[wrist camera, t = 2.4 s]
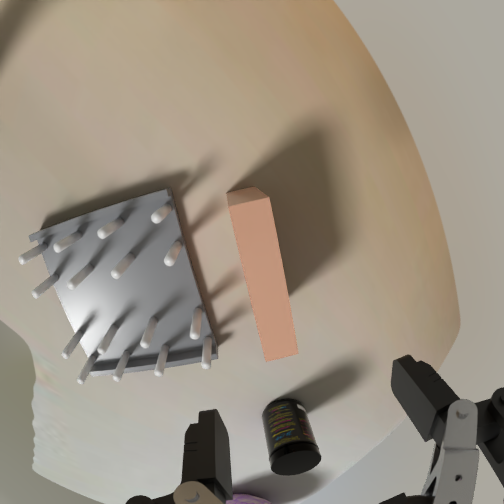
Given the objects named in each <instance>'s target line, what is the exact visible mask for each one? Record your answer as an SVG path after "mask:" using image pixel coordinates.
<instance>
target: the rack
mask: <svg viewBox="0 0 504 504" xmlns="http://www.w3.org/2000/svg"><path fill="white" fill-rule="evenodd" d="M29 239H30V242H33V241H35V240H38V243H39V245H38V246H36V247H35V248H33V249H31V250H29V251H28V252H26V253H24V254H22V255H21V256H19V262H20V263H21V264H25V263H27V262H28V261H30V260H31V259H33V258H35V257H36V256H38V255H39V254H41V253H42V255H43V258H44V261H45V264H46V266H47V269H48V272H49V275H50V277H49V278H48V279H46V280H45V281H44V282H43V283H41V284H40V285H39V286H38V287H36V288H35V289H34V290H33V291H32V295H33V297H34V298H38V297H39V296H41V295H42V294H43V293H44V292H45V291H46V290H47V289H49V288H50V287H51V286H52V285H54V287H55V290H56V292H57V294H58V297H59V299H60V301H61V304H62V306H63V308H64V310H65V313H66V315H67V317H68V319H69V321H70V323H71V325H72V328H73V330H74V332H75V335H74V336H73V338H72V339H71V340H70V342H69V343H68V345H67V346H66V347H65V349H64V350H63V352H62V356H63V357H64V358H66V359H68V358H69V356H70V355H71V353H72V352H73V350H74V349H75V347H76V346H77V344H78V343H79V341H80V343H81V345H82V347H83V349H84V351H85V353H86V355H87V356H88V360H87V362H86V364H85V366H84V367H83V369H82V371H81V373H80V375H79V376H78V378H77V381H78V382H79V383H80V384H84V382H85V380H86V378H87V376H88V374H89V373H90V374H91V376H103V375H113V379H114V380H115V381H120V380H121V377H122V375H123V373H131V372H139V371H147V370H154V369H155V371H154V374H155V375H156V376H159V377H161V376H162V375H163V372H164V368H168V367H175V366H181V365H187V364H193V363H198V362H202V368H204V369H209V368H210V367H211V360H214V359H218V345H217V342H216V339H215V336H214V333H213V330H212V327H211V324H210V321H209V318H208V315H207V312H206V309H205V306H204V303H203V300H202V296H201V293H200V290H199V287H198V283H197V280H196V277H195V273H194V270H193V267H192V263H191V260H190V257H189V253H188V250H187V246H186V243H185V239H184V235H183V232H182V228H181V224H180V221H179V217H178V213H177V209H176V206H175V202H174V198H173V194H172V190H171V187H170V188H166V189H162V190H159V191H155V192H152V193H149V194H145V195H142V196H138V197H135V198H132V199H129V200H125V201H122V202H119V203H116V204H113V205H110V206H107V207H103V208H100V209H97V210H94V211H92V212H89V213H86V214H83V215H80V216H77V217H74V218H72V219H69V220H66V221H63V222H61V223H58V224H55V225H53V226H50V227H47V228H45V229H42V230H40V231H38V232H35V233H33V234H31V235H29Z"/></svg>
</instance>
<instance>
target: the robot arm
mask: <svg viewBox="0 0 504 504" xmlns="http://www.w3.org/2000/svg"><path fill="white" fill-rule="evenodd" d="M391 388H392V391H393V394H394V395H395V397H396V398H397V400H398V401H399V403H400V404H401V406H402V407H403V409H404V410H405V412H406V413H407V415H408V416H409V418H410V419H411V421H412V422H413V424H414V425H415V427H416V429H417V430H418V432H419V433H420V435H421V436H422V438H423V439H424V441H425V442H427V441H428V440H430V439H432V438H433V439H434V441H435V445H434V450H433V454H432V459H431V464H430V468H429V472H428V476H427V479H426V482H425V484H424V487H423V490H422V493H421V495H415V496H407V497H406V495H405V493H402V494H399V495H397V496H395V497H393V498H390V499H388V500H386V501H383V502H381V503H379V504H472V500H473V495H474V490H475V484H476V477H477V470H478V462H479V450H478V449H476V445H478V446H479V448H480V449H481V450H482V452H483V454H484V455H485V457H486V459H487V460H488V462H489V463H490V465H491V467H492V468H493V470H494V472H495V473H496V475H497V477H498V478H499V480H500V482H501V484H502V485H503V487H504V388H500V389H497V390H496V391H495V392H494V393H493V395H492V397H491V399H488V400H484V401H481V402H478V403H473V402H471V401H470V400H467V399H460V398H459V397H458V396H457V395H456V394H455V393H454V391H453V390H452V389H451V388H450V387H449V386H448V385H447V383H446V382H445V381H444V380H443V379H441V377H440V376H439V374H438V373H436V371H435V370H434V369H433V368H432V367H431V365H429V364H427V363H425V362H423V361H419V362H416V361H415V360H414V359H413V357H412V356H411V355H405V356H403V357H401V358H398V359H396V360H394V361H393V367H392V377H391ZM184 443H185V445H184V454H183V468H182V481H181V484H180V485H179V486H178V487H177V488H176V490H175V491H174V492H173V493H171V494H169V495H166V496H163V497H159V498H156V499H152V500H151V499H150V498H149V497H146V496H142V495H139V496H134V497H132V498H130V499H129V500H128V501H127V502H126V504H226V501H227V500H233V491H232V478H231V463H230V447H229V437H228V432H227V429H226V427H225V425H224V423H223V421H222V419H221V417H220V415H219V412H218V410H217V409H213V410H206V411H200V412H199V420H198V423H195V424H190V426H189V427H188V429H187V431H186V433H185V441H184ZM503 501H504V500H503Z"/></svg>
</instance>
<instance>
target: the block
mask: <svg viewBox="0 0 504 504" xmlns="http://www.w3.org/2000/svg"><path fill="white" fill-rule="evenodd" d="M226 194H227V201H228V208H229V212H230V216H231V221H232V225H233V229H234V233H235V237H236V242H237V246H238V250H239V254H240V258H241V263H242V267H243V271H244V275H245V279H246V283H247V287H248V291H249V296H250V300H251V304H252V308H253V312H254V316H255V320H256V324H257V328H258V332H259V336H260V340H261V344H262V348H263V352H264V356H265V360H266V362H267V361H271V360H276V359H280V358H284V357H288V356H291V355H295V354H299V353H298V348H297V342H296V336H295V330H294V324H293V318H292V313H291V307H290V302H289V296H288V291H287V285H286V280H285V274H284V269H283V264H282V258H281V253H280V248H279V243H278V238H277V233H276V228H275V223H274V218H273V213H272V208H271V203H270V198H269V197H268V196H267V195H266V194H264V193H263V192H262V191H260V190H259V189H258V188H256V187H255V186H254V187H249V188H245V189H240V190H236V191H232V192H227V193H226Z"/></svg>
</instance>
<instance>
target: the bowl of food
mask: <svg viewBox="0 0 504 504" xmlns="http://www.w3.org/2000/svg"><path fill="white" fill-rule="evenodd" d="M226 504H272V503H270V502H269V501H268V500H265V499H263V498H260V497H256V496H252V495H249V494H233V500H227V501H226Z"/></svg>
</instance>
